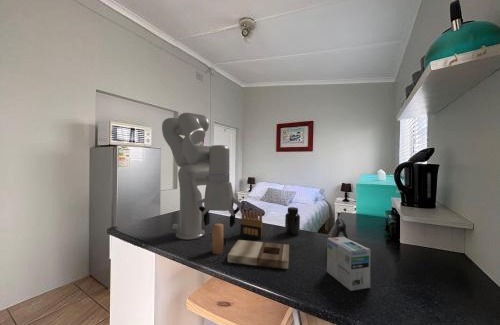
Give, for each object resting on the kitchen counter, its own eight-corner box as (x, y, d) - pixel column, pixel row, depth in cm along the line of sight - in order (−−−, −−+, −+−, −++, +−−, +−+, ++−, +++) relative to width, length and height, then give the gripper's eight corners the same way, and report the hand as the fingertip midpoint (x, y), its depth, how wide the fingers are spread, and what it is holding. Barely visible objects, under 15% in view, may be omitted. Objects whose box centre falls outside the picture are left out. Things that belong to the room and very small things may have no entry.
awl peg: (210, 253, 79) (211, 226, 79) (214, 249, 83) (214, 223, 83) (221, 254, 79) (221, 227, 78) (224, 250, 82) (224, 223, 82)
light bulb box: (371, 288, 59) (372, 249, 59) (350, 292, 57) (351, 251, 57) (343, 269, 70) (344, 235, 70) (325, 272, 68) (326, 237, 68)
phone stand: (351, 250, 84) (352, 219, 84) (354, 257, 79) (355, 224, 78) (327, 247, 87) (327, 217, 87) (327, 253, 81) (328, 221, 81)
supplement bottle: (282, 233, 103) (282, 208, 103) (289, 230, 108) (290, 205, 108) (294, 237, 98) (295, 210, 98) (302, 233, 103) (302, 208, 103)
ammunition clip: (263, 238, 96) (263, 211, 96) (261, 239, 94) (261, 211, 94) (241, 233, 101) (242, 208, 101) (239, 235, 99) (240, 208, 99)
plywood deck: (227, 262, 73) (227, 254, 73) (238, 246, 87) (238, 239, 87) (288, 269, 69) (288, 261, 69) (289, 251, 83) (289, 244, 83)
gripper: (192, 179, 78) (192, 226, 78) (239, 179, 75) (239, 229, 75) (201, 178, 86) (201, 221, 86) (244, 178, 82) (244, 223, 82)
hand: (219, 225), depth 80 cm, fingers open, 9 cm apart
